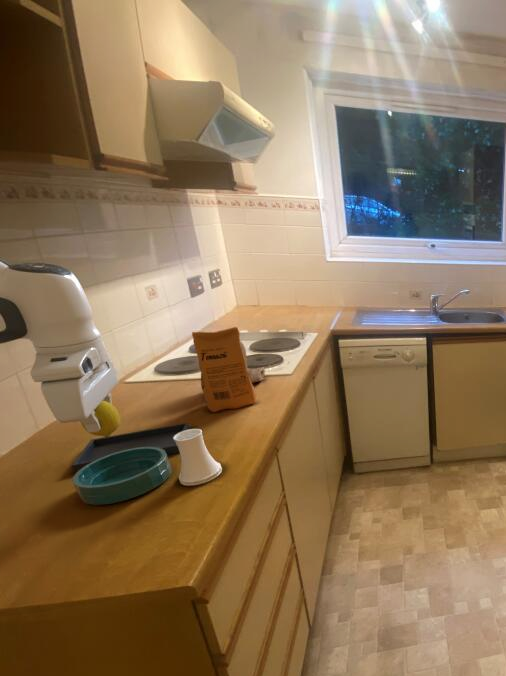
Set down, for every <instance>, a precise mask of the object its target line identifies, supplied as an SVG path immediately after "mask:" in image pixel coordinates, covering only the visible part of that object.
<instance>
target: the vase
mask: <svg viewBox="0 0 506 676" xmlns="http://www.w3.org/2000/svg"><path fill="white" fill-rule="evenodd" d="M173 439H174V440H175V442H176V444H177V446H178V448H179V451H180V453H179V455H180V462H181V469H180V473H179V475H178V480H179V483H180V484H181V485H183V486H197V485H201V484H205V483H208V482H210V481H213V480H214V479H216V478H217V477H218V476H219V475H221V473H222V471H223V468H222V464H221V463H220V462H218V461H216V459H214V458H213V457H212V455H211V454H210V452H209V450H208V448H207V447H206V443H205V441H204V435H203V430H202V429H201V428H191V429H189V430H185V431H182V432H180V433H178V434H176V435H175V436H174V437H173Z"/></svg>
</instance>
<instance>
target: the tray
mask: <svg viewBox="0 0 506 676" xmlns="http://www.w3.org/2000/svg"><path fill="white" fill-rule="evenodd" d="M189 429H192V428H191V425H190V423H189V422H184V423H178V424H171V425H167V426H160V427H156V428H155V427H154V428H150V429H144V430H143V429H142V430H137V431H133V432H128V433H126V432H125V433H121V434H114V435H110V436H108V437H104V436H102V437H98V438H93V439H90V441H89V442H88V443H87V445H86V446H85V447H84V448H83V450H82V451H81V452H80V453H79V455H78V456H77V458H76V459H75V460H74V461H73V463H72V464H71V465H70V466H71V468H72V470H73V472H74V474H76V473H77V472H78V471H79V470H80V469H82V468H83V467H84V466H86V465H88V464H90V463H91V462H93V461H95V460H97V459H99V458H102V457H105V456H107V455H110V454H113V453H116V452H119V451H123V450H128V449H133V448H138V447H158V448H161V449H163V450H165V452H166V454H167V456H170V455H174V454H180V451H179V448H178V446H177V444H176V442H175V440H174V439H173V437H174V436H175V435H176V434H178V433H180V432H182V431H185V430H189Z"/></svg>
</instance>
